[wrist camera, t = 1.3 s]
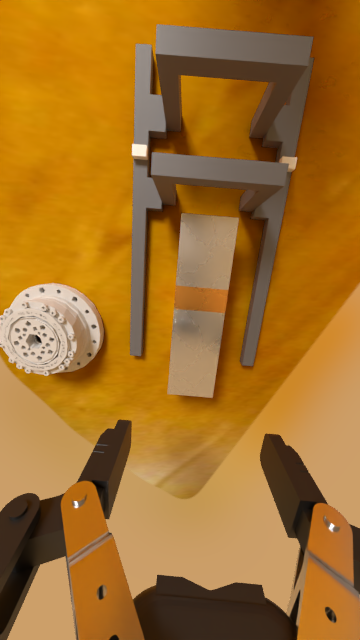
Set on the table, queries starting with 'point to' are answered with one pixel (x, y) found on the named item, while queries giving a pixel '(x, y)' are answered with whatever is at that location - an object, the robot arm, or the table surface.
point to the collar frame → (253, 176)
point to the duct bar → (200, 301)
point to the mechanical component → (51, 330)
